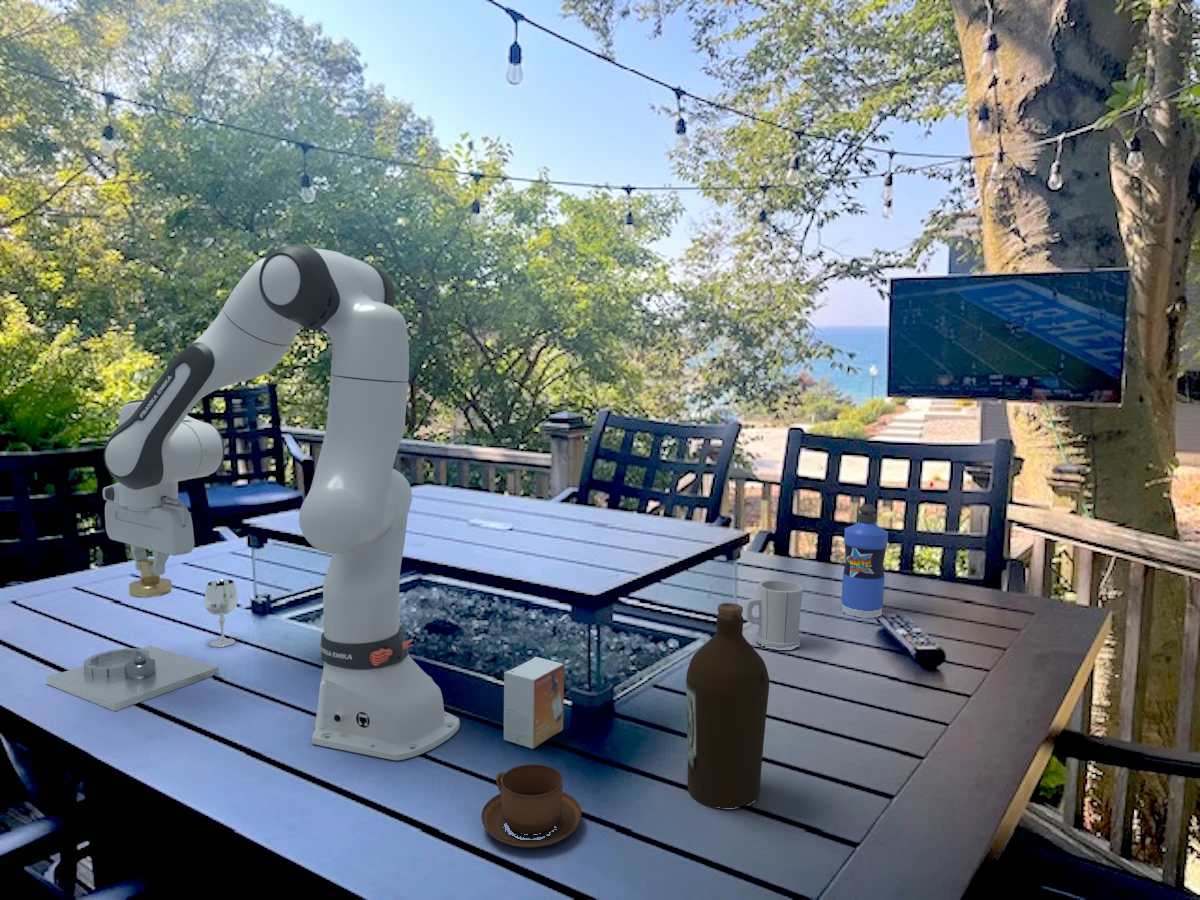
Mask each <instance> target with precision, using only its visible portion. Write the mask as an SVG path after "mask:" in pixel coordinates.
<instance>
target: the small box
mask: <svg viewBox="0 0 1200 900" xmlns="http://www.w3.org/2000/svg"><path fill="white" fill-rule="evenodd" d="M503 676H504V677H503V740H504V741H506V742H510V743H514V744H516V745H519V746H523V747H526V748H529V749H532V750H533V749H535V748H536V747H538V746H539V745H541V744H542V743H544V742H545V741H548V740H549V739H550V738H552V737H553V736H555V735H556V734H558V733H561V732H562V731H563V729H564V702H565V701H564V696H565V693H564V691H565V664H564V663H561V662H557V661H554V660H550V659H547V658H542V657H539V656H534V657H533V658H532V659H530V660H528V661H526V662H523V663H521V664H520V665H517V666H516V667H513V668H511V669H510V670H507V671H504V672H503Z"/></svg>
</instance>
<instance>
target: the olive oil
mask: <svg viewBox="0 0 1200 900" xmlns="http://www.w3.org/2000/svg"><path fill="white" fill-rule="evenodd" d="M743 608H744V607H743V606H742V605H740V604H738V603H732V602H722V603H720V604H718V605H717V611H718V612H717V613H718V614H717V615H716V632H715V634H714V635H713V636H712V637H711V638H709V640H708V641H706V642H705V643H704V644H703V645H702V646H701V647H700V648H699V649H698V650H697V651H695V653H694V654H693V655H692V657H691V659H690V662H689V664H688V667H687V671H686V679H685V685H686V686H685V688H686V692H685V693H686V728H687V729H686V731H687V732H686V734H687V735H686V738H687V740H686V741H687V742H686V743H687V744H686V745H687V790H688V793H689V794H690V796H691V797H692V798H694V800H696V801H697V800H698V802H699V803H700V804H703V805H705V804H706V805H705V806H707V805H708V807H710V806H713V807H712V808H714V807H720V808H735V807H741V806H745V805H748V804H750V803H752V802H753V801H755V800H756V799H757V798H758V796H759V797H760V794H759V793H761V779H762V766H763V754H764V741H765V731H766V722H767V711H768V703H769V701H768V700H769V693H770V692H769V691H770V677H769V672H768V669H767V665H766V662H765V661H764V659H763V658H762V656H761V655H760V654H759V653H758V652H757V650H756V649H755V648H754V647H753V646H752V645H751V643H750V642H749V641H748V640H747V639H746V638H745V637H744V635H743V629H744V616H743V612H744V611H743V610H744V609H743ZM758 799H759V798H758ZM758 799H757V800H758ZM709 805H710V806H709Z"/></svg>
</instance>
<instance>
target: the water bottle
mask: <svg viewBox="0 0 1200 900" xmlns="http://www.w3.org/2000/svg"><path fill="white" fill-rule="evenodd" d="M858 511H859V512H858V513H857V515H856V521H857V522H856V523H855V524H853V525H850V526H848V527H845V528H844V535H843V536H844V537H843V538H844V539H843V543H844V551H845V552H844V553H845V563H844V568H843V572H842V587H841V603H842V604H843V605H844V606H846V607H849V608H852V609H857V610H863V611H874V610H879V609H881V608H884V595H885V594H884V593H885V570H884V569H885V568H884V562H885V557H886V552H887V548H888V538H889V532H888V531H887V530H886V529H884V528H883V527H880V526H878V524H877V522H878V520H877V519H878V514H876V512H877V508H875V506H873V504H871V503H864V504H862V505H861V506H860V507H858ZM841 603H840V604H841Z"/></svg>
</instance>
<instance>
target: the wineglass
mask: <svg viewBox="0 0 1200 900" xmlns="http://www.w3.org/2000/svg"><path fill="white" fill-rule="evenodd" d="M205 588H206V589H205V595H204V607H205V609H206V611H207V612H208V613H209V614H211V615H215V616H219V619H218V622H219V626H220V638H218V639H216V640H215V639H214V640H212V641H211V642H210V643H209V646H211V647H214V648H223V647H228V646H232V645H234V644H235V643H236V640H235V639H233V638H226V637H225V635H224V634H225V633H224V625H225V619H226V618H225V617H224V616H226V615H229V614H230V613H231V612H232V613H233V611H234V610H235V609H236V607H237V605H238V600H239V599H238V591H237V586H236V584H235V581H234V580H232V579H216V580H213V581H208V582H207V584H206V587H205Z"/></svg>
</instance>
